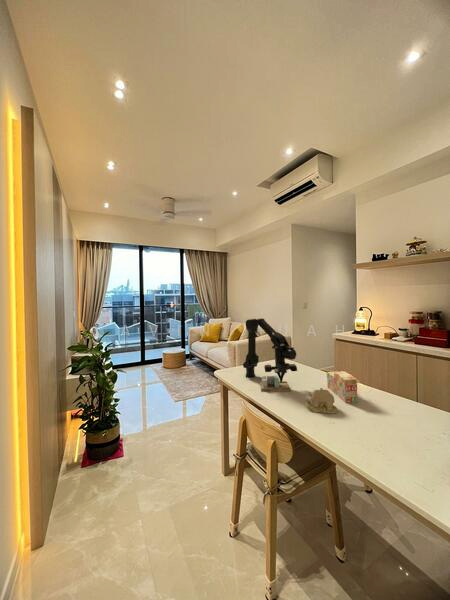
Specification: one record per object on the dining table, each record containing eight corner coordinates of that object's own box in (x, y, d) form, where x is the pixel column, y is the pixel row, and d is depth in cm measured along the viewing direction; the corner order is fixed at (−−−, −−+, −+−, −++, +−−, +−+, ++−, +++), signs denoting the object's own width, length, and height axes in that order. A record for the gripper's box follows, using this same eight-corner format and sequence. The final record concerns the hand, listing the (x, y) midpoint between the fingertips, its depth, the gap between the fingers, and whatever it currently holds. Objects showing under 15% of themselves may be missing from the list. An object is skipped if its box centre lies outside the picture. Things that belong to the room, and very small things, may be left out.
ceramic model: (332, 403, 126) (331, 384, 126) (341, 414, 115) (340, 393, 115) (304, 403, 127) (303, 384, 127) (309, 414, 116) (309, 393, 116)
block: (273, 384, 152) (273, 376, 152) (274, 386, 148) (274, 378, 148) (267, 384, 153) (266, 376, 153) (267, 386, 149) (267, 378, 149)
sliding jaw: (273, 382, 154) (273, 375, 154) (277, 382, 154) (277, 375, 154) (274, 387, 147) (274, 379, 146) (279, 387, 146) (278, 379, 146)
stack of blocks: (327, 387, 147) (326, 366, 147) (337, 386, 147) (336, 366, 147) (345, 403, 126) (345, 379, 125) (357, 402, 126) (357, 378, 126)
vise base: (259, 383, 157) (259, 375, 157) (287, 383, 156) (286, 374, 156) (261, 391, 145) (260, 381, 145) (290, 390, 144) (290, 381, 144)
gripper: (265, 360, 142) (266, 387, 143) (298, 359, 141) (299, 386, 141) (263, 355, 153) (265, 380, 154) (294, 354, 152) (295, 379, 152)
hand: (281, 382), depth 150 cm, fingers closed
